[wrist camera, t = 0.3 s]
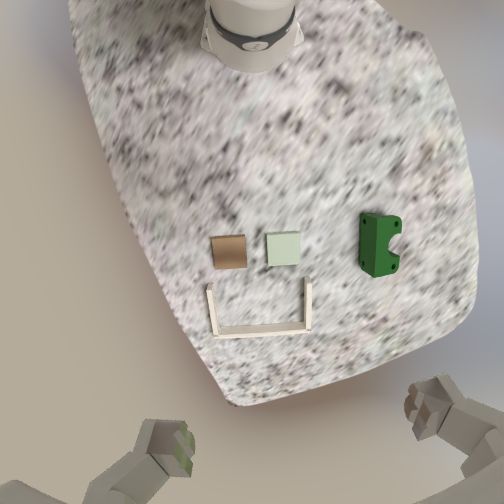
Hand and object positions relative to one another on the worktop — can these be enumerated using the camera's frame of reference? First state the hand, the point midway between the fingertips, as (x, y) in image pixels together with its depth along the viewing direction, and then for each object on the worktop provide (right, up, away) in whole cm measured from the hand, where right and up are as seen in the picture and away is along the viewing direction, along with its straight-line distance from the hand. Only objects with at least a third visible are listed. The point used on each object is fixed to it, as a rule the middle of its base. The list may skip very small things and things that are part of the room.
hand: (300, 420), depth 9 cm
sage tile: (+4, +7, +46) cm, 47 cm away
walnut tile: (-6, +6, +46) cm, 47 cm away
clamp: (+22, +11, +46) cm, 52 cm away
